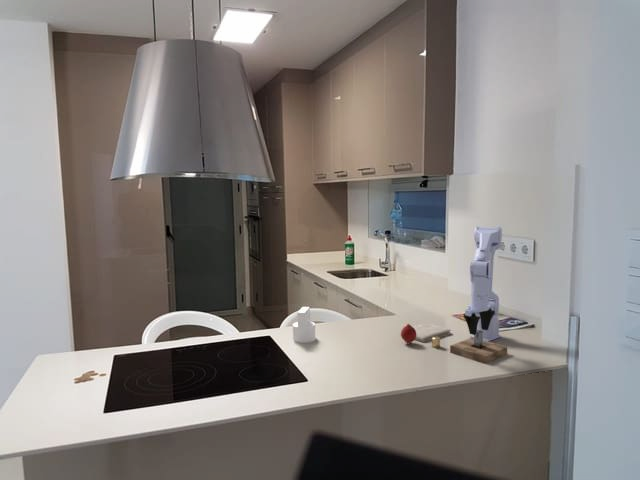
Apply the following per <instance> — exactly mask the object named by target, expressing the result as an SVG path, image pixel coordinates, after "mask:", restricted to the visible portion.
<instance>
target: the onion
mask: <svg viewBox="0 0 640 480" xmlns="http://www.w3.org/2000/svg"><path fill="white" fill-rule="evenodd" d="M400 337H401V339H402V340H403V341H404V342H405V343H407V345H408V344H411V343H412V342H414V341H416V340H415V338H416V331H415V329H414V328H413V326H412V325H411V324H410V323H408V322H407V323H406V325H405V326H404V327H403V328H402V329H401V332H400Z"/></svg>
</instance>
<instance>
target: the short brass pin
mask: <svg viewBox="0 0 640 480" xmlns="http://www.w3.org/2000/svg"><path fill="white" fill-rule="evenodd" d="M431 347H432V348H433V349H440V348H441V337H432V340H431Z"/></svg>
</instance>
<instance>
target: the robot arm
mask: <svg viewBox="0 0 640 480" xmlns="http://www.w3.org/2000/svg"><path fill="white" fill-rule="evenodd" d="M502 237H503V230H502V227H501V226H477V225H476V227H474V242H475V246H476V248H477V249H475V252H474V256H473V262H472V261H471V262H470V264H469V265H470V266H469V274H470V275H469V276H470V283H471V284H470V285H471V286H470V287H471V288H470V291H471V292H470V296H471V297H470V304H468V306H467V307H468V308H466V309H465V310H464V311H465V312H464V313H463V318H464V320H465V321H466V325H467V328H468V332H469V334H470V336H469V338H472V337H473V338H474V335H476V332H477V330H481V331H483V340H484V341H487V342H491V341H493V340H494V341H495V340H496V339H499V338H500V337H502V336H501V335H500V319H499V317H498V315H499V312H500V299H499V295H497V294H496V293H495V292H494V291H493V279H494V278H493V277H494V263H495V262H494V260H495V259H494V258H495V254H496V251H498V250H499V249H501V247H502Z"/></svg>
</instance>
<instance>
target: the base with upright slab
mask: <svg viewBox="0 0 640 480" xmlns="http://www.w3.org/2000/svg"><path fill="white" fill-rule="evenodd" d="M296 315H297V321H295V322H293V323H292V341H294V342H296V343H300V344H302V343H303V344H304V343H311V342H313V341H315V340H316V323H315V322H314V321H311V309H310V306H302V307H301V308H300V309H299V310H298V311H297V313H296Z"/></svg>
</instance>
